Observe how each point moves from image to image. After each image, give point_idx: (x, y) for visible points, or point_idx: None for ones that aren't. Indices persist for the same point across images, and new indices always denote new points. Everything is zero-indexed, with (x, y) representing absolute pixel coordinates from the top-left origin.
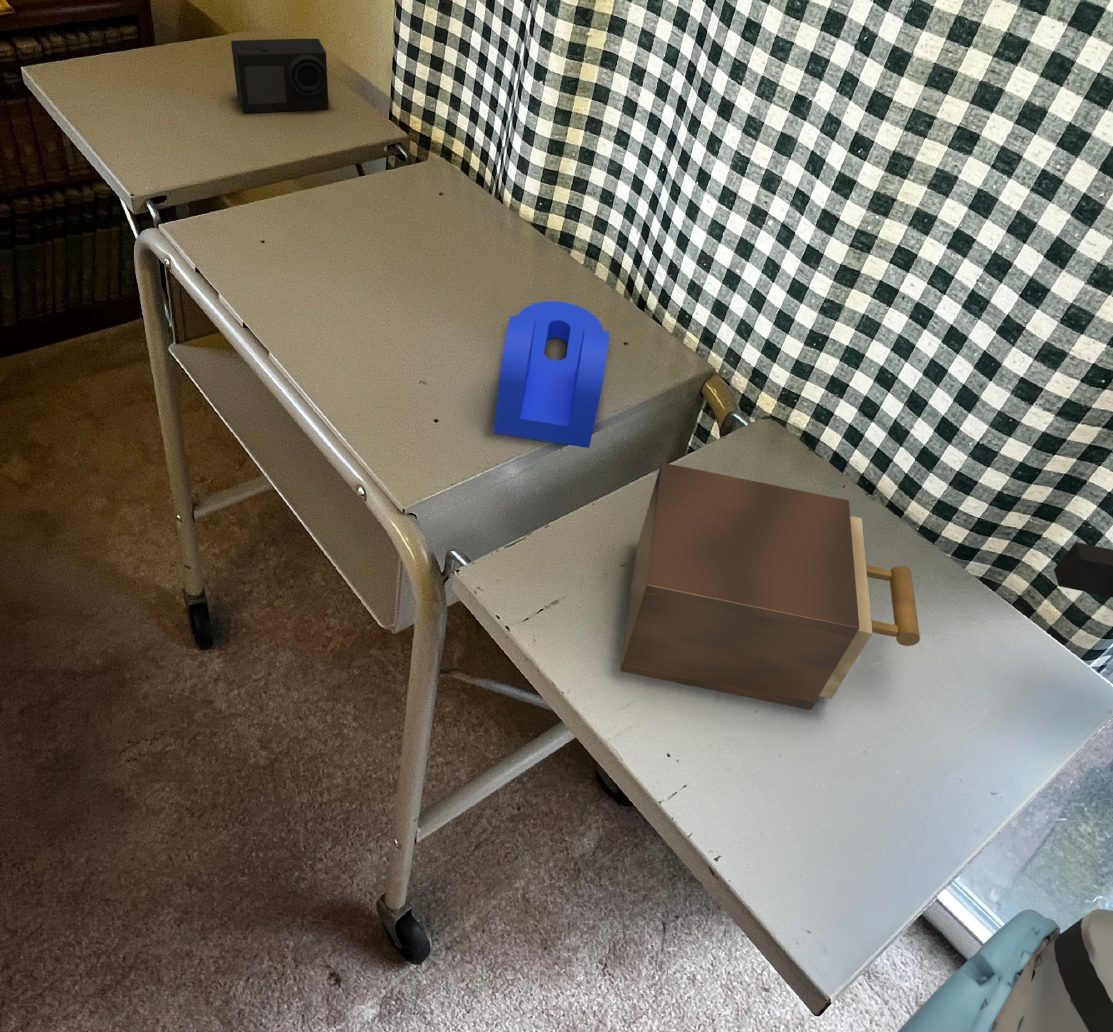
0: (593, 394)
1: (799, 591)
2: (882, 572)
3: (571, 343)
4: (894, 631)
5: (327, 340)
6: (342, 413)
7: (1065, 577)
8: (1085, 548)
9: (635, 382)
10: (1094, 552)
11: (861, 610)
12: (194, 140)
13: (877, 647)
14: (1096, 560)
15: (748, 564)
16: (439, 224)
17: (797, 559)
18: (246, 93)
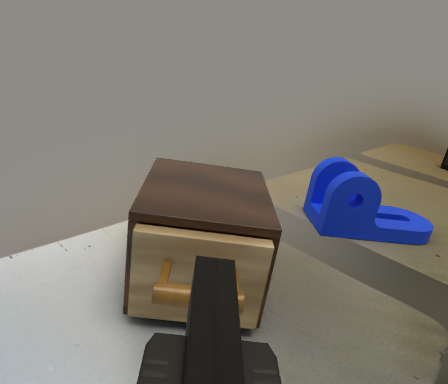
0: (329, 194)
1: (163, 194)
2: None
3: (393, 220)
4: (159, 280)
5: None
6: (281, 179)
7: (190, 293)
8: (223, 266)
9: (403, 257)
10: (219, 275)
11: (158, 230)
12: (405, 160)
13: None
14: (199, 272)
15: (183, 182)
16: (445, 202)
17: (196, 198)
18: (445, 159)
